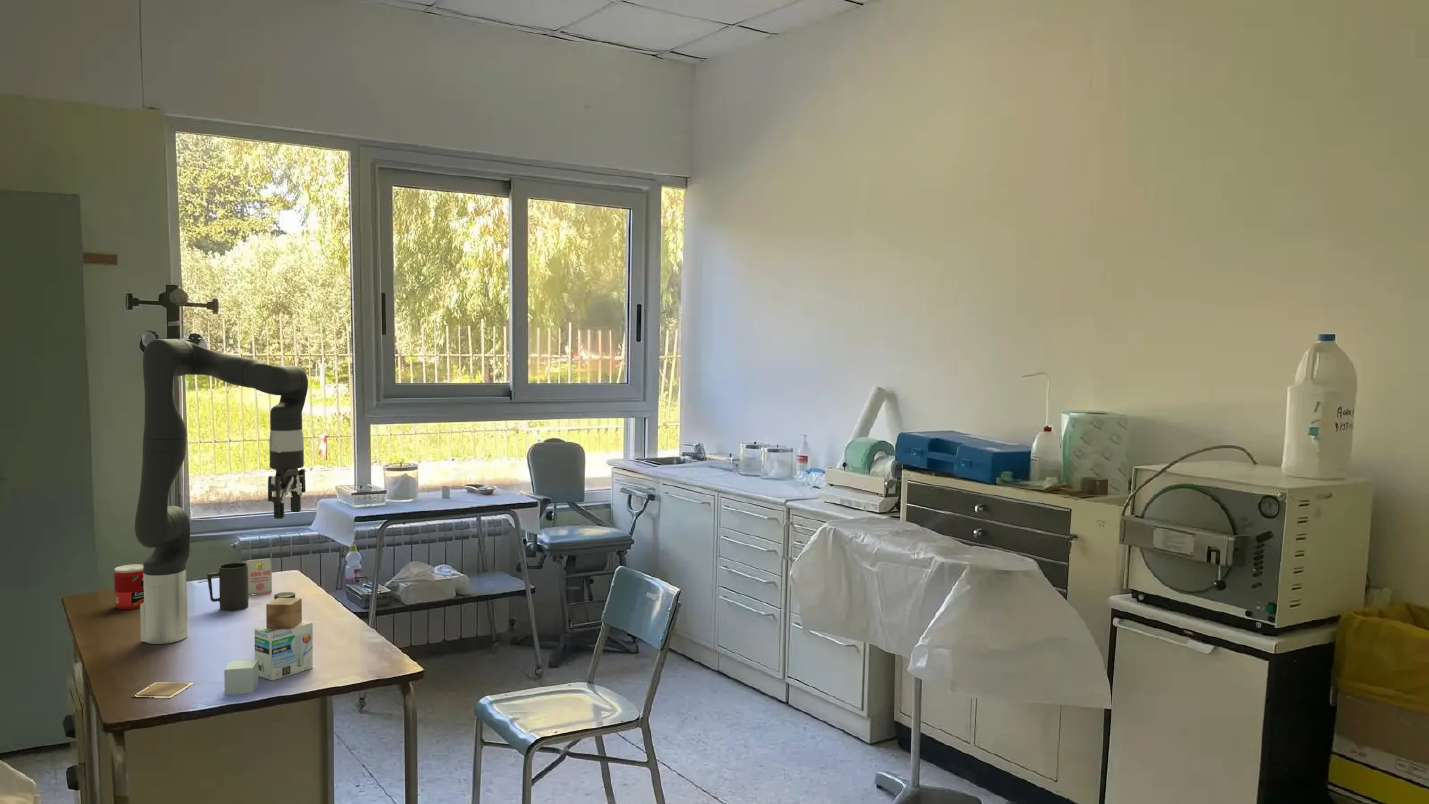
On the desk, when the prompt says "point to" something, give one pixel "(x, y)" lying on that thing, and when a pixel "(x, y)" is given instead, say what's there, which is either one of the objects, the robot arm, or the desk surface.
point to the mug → (231, 586)
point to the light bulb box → (284, 650)
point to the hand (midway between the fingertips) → (287, 515)
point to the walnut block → (284, 613)
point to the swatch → (163, 690)
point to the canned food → (129, 586)
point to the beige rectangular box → (259, 576)
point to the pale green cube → (241, 676)
